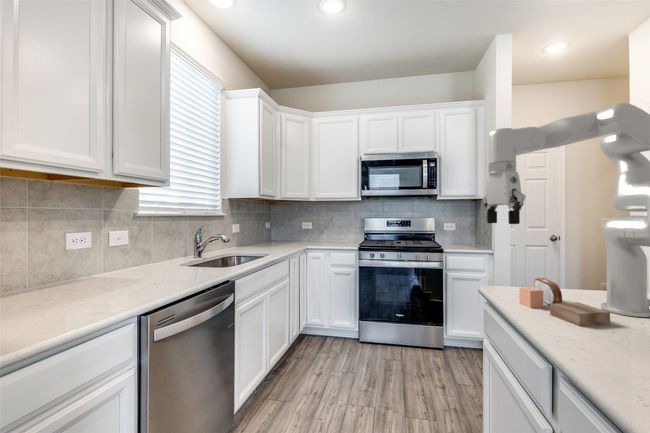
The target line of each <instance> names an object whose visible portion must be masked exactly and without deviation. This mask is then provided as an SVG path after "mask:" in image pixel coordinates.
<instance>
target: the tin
mask: <svg viewBox="0 0 650 433" xmlns="http://www.w3.org/2000/svg"><path fill="white" fill-rule="evenodd" d="M533 286H534V288H537V289H541V290H543V304H546V305H547V306H549V307H550V304H557V303H563V294H562V290H561V288H560V287H559V285H558V283H556V282H554V281H552V280H549V279H547V278H546V277H542V278H540V277H539V278H535V279H534V281H533Z"/></svg>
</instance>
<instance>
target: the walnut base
mask: <svg viewBox="0 0 650 433" xmlns="http://www.w3.org/2000/svg"><path fill="white" fill-rule="evenodd" d="M549 307H550V308H549V311H550V312H549V313H550V315H549V316H552V317H554V318H557V319H559V320H561V321H565V322H567V323H570V324H572V325H575V326H577V327H590V326H591V327H593V325H595V326H607V325H609V326H610V325H611V312H609V311H606V310H604V309H602V308H597V307H594V306H591V305H589V304H585V303H581V302H577V301H576V302H562V303H557V304H550V306H549Z"/></svg>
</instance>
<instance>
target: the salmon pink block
mask: <svg viewBox="0 0 650 433" xmlns="http://www.w3.org/2000/svg"><path fill="white" fill-rule="evenodd" d="M518 293H519V304H520V305H521V306H524V307H527V308H528V309H529V308H530V309H537V308H539V309H540V308H544V307H545V306H544V302H543V290H541V289H537V288H534V287H533V286H525V287H524V286H523V287H521V286H520V287H519V292H518Z"/></svg>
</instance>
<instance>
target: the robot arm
mask: <svg viewBox="0 0 650 433" xmlns="http://www.w3.org/2000/svg"><path fill="white" fill-rule="evenodd" d="M600 137H601V138H600ZM597 138H600V140H599V148H600V150H601V152H602V154H604V155H605V156H606V157H607V158H608V159H609V160H610V162H611V163H612V164H613V165H614V167H615V180H614V188H613V195H612V205H613V207H614V208H615V209H616V210H617V211H621V212H628V213H629V212H631V213H632V212H634V213H639V212H640V213H641V212H643V213H645V212H646V214H647V215H617V216H612V217H610V218H608V219H607V220H605V221H604V223H603V225H602V230H601V231H602V236H603V239H604V244H605V251H606V302H602V303H601V304H600V309H601V310H605V311H608V312H610V313H613V314H616V315H623V316H628V317H638V318H650V298H648V258H647V255H646V253H645V251H644V250H643V249H642V247H647V248H648V247H650V160H649V159H648V158H647V157H646V156H645V155H644V154H643V152H650V114H649V113H648V112H647V111H646V110H643V109H641V108H640V107H638V106H636V105H634V104H632V103H631V104H630V103H628V102H618V103H614V104H611V105H609V106H605V107H603V108H599V109H597V110H593V111H588V112H586V113H585V112H584V113H581V114H578V115H572V116H568V117H564V118H563V117H562V118H560V119H557V120H553V121H550V122H549V123H546V124H543V125H541V126H538V127H537V126H527V127H521V128H510V127H503V128H497V129H496V128H495V129H493V130H491V131H490V132H489V133H488V138H487V140H488V143H487V144H488V148H487V149H488V154H487V155H488V175H487V176H488V178H487V185H486V195H485V196H484V197H483V198H482V202H483V205H484V207H485V211H486V223H487V224H497V223H498V210H497V208H498V206H500V205H501V206H507V207H508V209H509V210H508V213H507V214H508V216H507V217H508V224H509V225H520V223H521V222H520V221H521V220H520V215H521V214H520V212H521V210H522V207H523V206H524V202H525V199H526V196H527V195H526V194H524V193H522V188H521V187H522V186H521V181H520V174H519V172H518V171H517V156H521V155H524V154H529V153H532V152H538V151H541V150H548V149H552V148H553V149H554V148H559V147H563V146H568V145H571V144H576V143H580V142H583V141H584V142H585V141H587V140H588V141H589V140H592V139H597Z"/></svg>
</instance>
